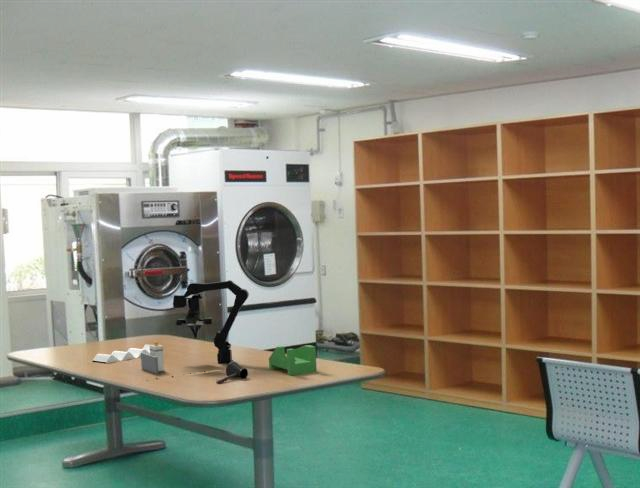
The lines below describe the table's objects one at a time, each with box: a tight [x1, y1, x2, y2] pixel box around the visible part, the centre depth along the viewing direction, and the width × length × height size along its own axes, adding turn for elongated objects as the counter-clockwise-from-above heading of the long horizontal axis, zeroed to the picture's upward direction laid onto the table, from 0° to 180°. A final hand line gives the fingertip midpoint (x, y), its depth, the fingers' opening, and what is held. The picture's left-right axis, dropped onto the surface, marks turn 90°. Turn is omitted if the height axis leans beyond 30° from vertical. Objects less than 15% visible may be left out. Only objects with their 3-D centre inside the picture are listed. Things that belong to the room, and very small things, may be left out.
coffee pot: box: [215, 361, 249, 385], centre depth 380 cm, size 8×18×8 cm
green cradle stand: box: [268, 344, 318, 377], centre depth 396 cm, size 24×13×12 cm, turn 27°
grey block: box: [140, 353, 160, 375], centre depth 411 cm, size 14×20×9 cm
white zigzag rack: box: [92, 343, 151, 365], centre depth 464 cm, size 13×35×5 cm, turn 137°
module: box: [149, 341, 165, 372], centre depth 410 cm, size 4×7×14 cm, turn 31°
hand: (196, 338), depth 429 cm, fingers closed
